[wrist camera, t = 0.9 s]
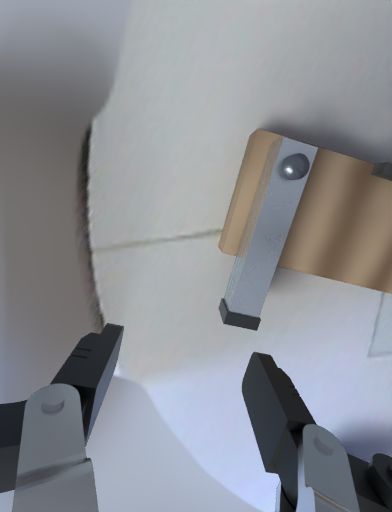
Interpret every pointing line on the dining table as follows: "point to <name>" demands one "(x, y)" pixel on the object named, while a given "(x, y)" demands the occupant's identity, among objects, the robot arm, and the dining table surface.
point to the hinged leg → (266, 231)
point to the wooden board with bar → (325, 216)
